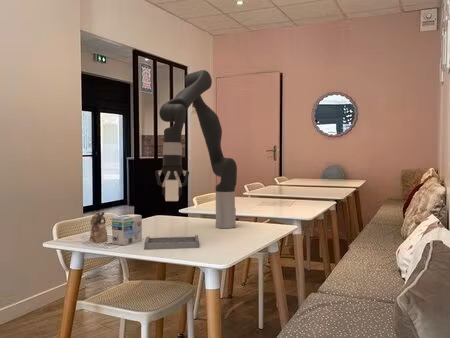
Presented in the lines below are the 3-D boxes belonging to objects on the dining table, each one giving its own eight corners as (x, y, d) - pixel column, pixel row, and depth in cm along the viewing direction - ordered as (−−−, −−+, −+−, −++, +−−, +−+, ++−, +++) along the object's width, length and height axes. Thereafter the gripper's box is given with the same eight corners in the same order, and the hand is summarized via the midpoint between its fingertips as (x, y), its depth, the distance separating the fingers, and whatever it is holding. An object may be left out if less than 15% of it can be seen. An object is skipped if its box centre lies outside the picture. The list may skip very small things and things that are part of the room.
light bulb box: (123, 245, 168) (123, 218, 168) (111, 244, 172) (110, 217, 171) (142, 241, 177) (142, 214, 177) (130, 239, 181) (130, 213, 180)
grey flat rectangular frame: (197, 241, 176) (197, 235, 175) (199, 247, 164) (199, 241, 164) (146, 242, 173) (146, 236, 173) (144, 249, 162) (144, 242, 161)
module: (178, 199, 178) (178, 179, 178) (178, 201, 170) (178, 180, 170) (166, 199, 178) (166, 179, 178) (165, 201, 170) (165, 180, 170)
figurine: (88, 240, 179) (88, 211, 179) (106, 239, 182) (105, 210, 181) (90, 243, 173) (89, 213, 172) (108, 242, 175) (108, 212, 175)
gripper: (190, 154, 178) (190, 195, 178) (155, 154, 177) (154, 195, 177) (190, 154, 170) (190, 197, 171) (153, 153, 169) (153, 197, 170)
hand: (172, 196), depth 174 cm, fingers closed on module, 5 cm apart
